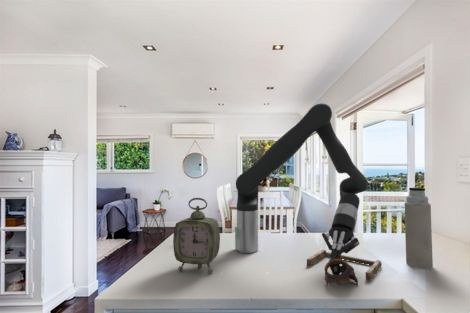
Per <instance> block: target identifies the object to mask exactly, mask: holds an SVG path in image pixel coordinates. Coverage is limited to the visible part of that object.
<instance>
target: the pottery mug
mask: <svg viewBox="0 0 470 313" xmlns="http://www.w3.org/2000/svg"><path fill="white" fill-rule="evenodd" d="M329 268H330V271H331V273H332V274H331V273H330V272H329V271H328V270H329ZM324 281H325V284H326V286H329V284H330V285H340V284H344V283H346V282H348V283H352V281H353V282H354V283H355V284H356V286H359V280H358V277H357V276H356V272H355V268H354V267H353V266H352V265H350V264H349V263H348V261H346V260H342V259H334V258H332V259H329V261H328V262H326V264H325V266H324Z"/></svg>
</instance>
